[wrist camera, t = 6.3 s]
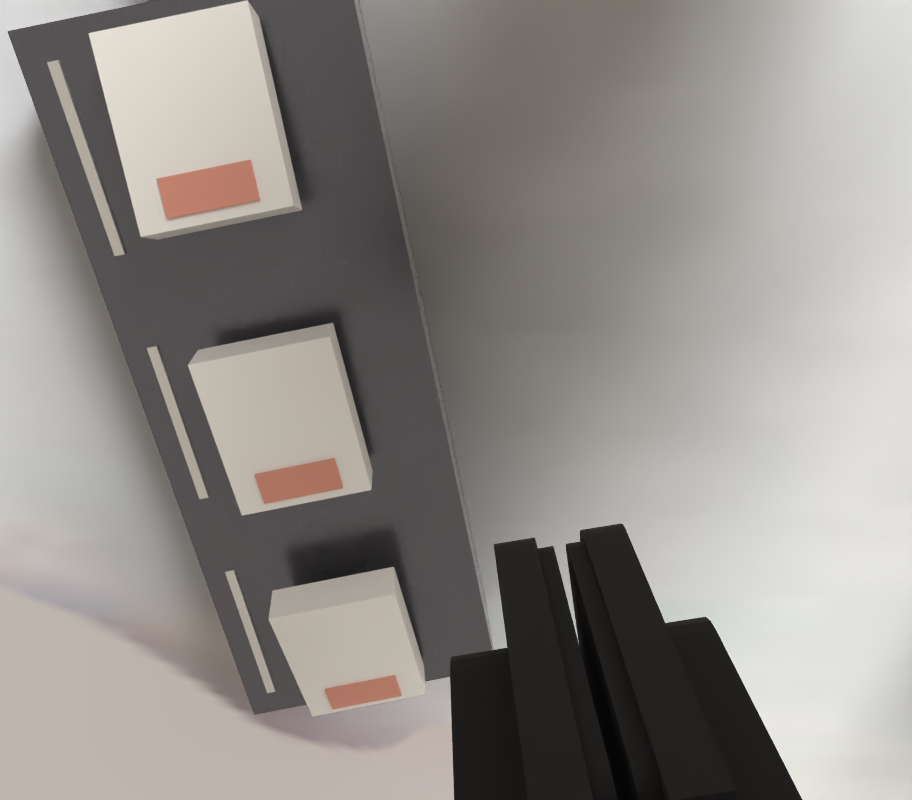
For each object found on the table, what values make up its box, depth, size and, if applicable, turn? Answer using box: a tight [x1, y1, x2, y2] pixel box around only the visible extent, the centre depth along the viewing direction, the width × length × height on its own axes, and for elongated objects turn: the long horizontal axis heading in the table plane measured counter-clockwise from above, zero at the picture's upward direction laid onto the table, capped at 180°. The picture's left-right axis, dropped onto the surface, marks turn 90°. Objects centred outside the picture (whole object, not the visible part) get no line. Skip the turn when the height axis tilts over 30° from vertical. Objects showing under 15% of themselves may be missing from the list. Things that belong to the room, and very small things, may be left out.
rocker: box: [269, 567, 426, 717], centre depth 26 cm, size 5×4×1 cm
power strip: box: [8, 0, 493, 715], centre depth 25 cm, size 29×9×5 cm, turn 11°
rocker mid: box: [188, 323, 373, 516], centre depth 23 cm, size 5×4×1 cm
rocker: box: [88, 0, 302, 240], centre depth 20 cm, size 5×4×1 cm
